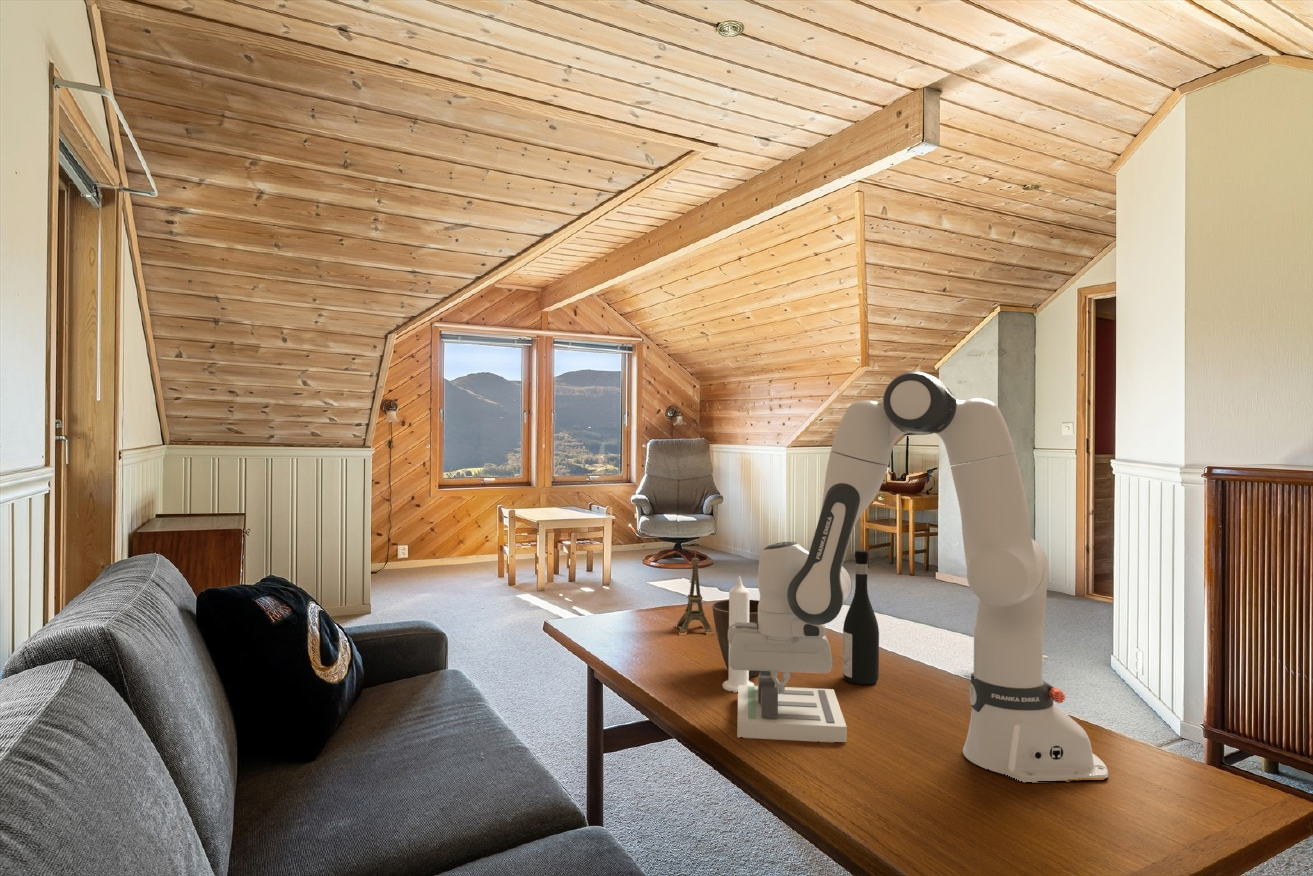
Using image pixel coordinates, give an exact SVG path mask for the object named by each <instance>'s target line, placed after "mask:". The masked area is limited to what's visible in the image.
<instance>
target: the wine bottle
mask: <svg viewBox="0 0 1313 876" xmlns="http://www.w3.org/2000/svg"><path fill="white" fill-rule="evenodd" d="M854 558H855V581H854V582H855V588H854V594H853V598H852V600H851V604H850V606H849V608H848V610H847V613H846V616H845V618H844V622H843V628H842V676H843V678H844V680H845V681H847V682H849V683H852V684H854V685H855V684H856V685H862V686H864V685H872V684H874V683H877V682H878V680H879V674H880V673H879V670H880V666H879V665H880V660H879V659H880V658H879V657H880V653H879V652H880V651H879V650H880V629H879V624H878V620H877V616H876V615H875V612H874V608H873V605H872V604H871V601H870V597H869V593H868V592H869V591H868V568H869V567H868V563H869V562H868V561H869V560H868V559H869V551H867V550H864V549H860V550H859V549H857V550H855V551H854Z"/></svg>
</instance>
